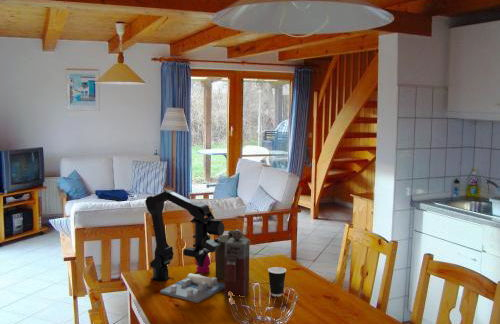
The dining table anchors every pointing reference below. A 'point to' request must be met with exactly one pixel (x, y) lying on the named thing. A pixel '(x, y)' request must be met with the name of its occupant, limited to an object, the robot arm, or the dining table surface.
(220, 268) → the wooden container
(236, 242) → the dark jug
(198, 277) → the white cylinder
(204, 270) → the pepper mill
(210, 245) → the robot arm
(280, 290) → the dixie cup
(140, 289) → the dining table surface
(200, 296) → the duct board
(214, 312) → the dining table surface
